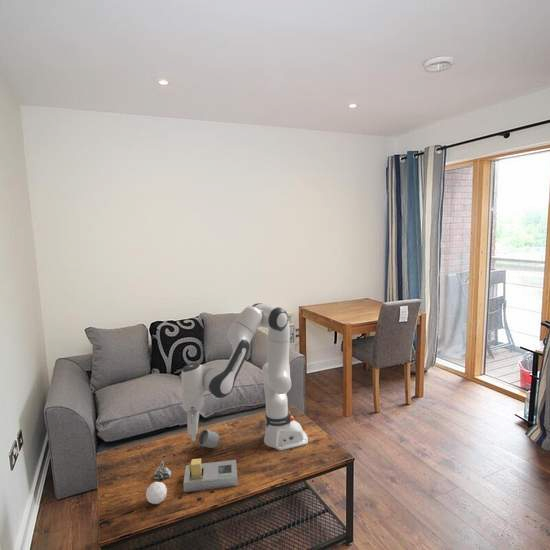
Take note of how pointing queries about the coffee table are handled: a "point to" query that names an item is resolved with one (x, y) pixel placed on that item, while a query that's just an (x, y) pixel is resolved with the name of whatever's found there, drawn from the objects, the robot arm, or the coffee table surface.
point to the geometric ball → (156, 492)
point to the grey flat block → (212, 476)
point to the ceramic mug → (208, 439)
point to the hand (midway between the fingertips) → (194, 434)
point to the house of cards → (162, 472)
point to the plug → (195, 467)
